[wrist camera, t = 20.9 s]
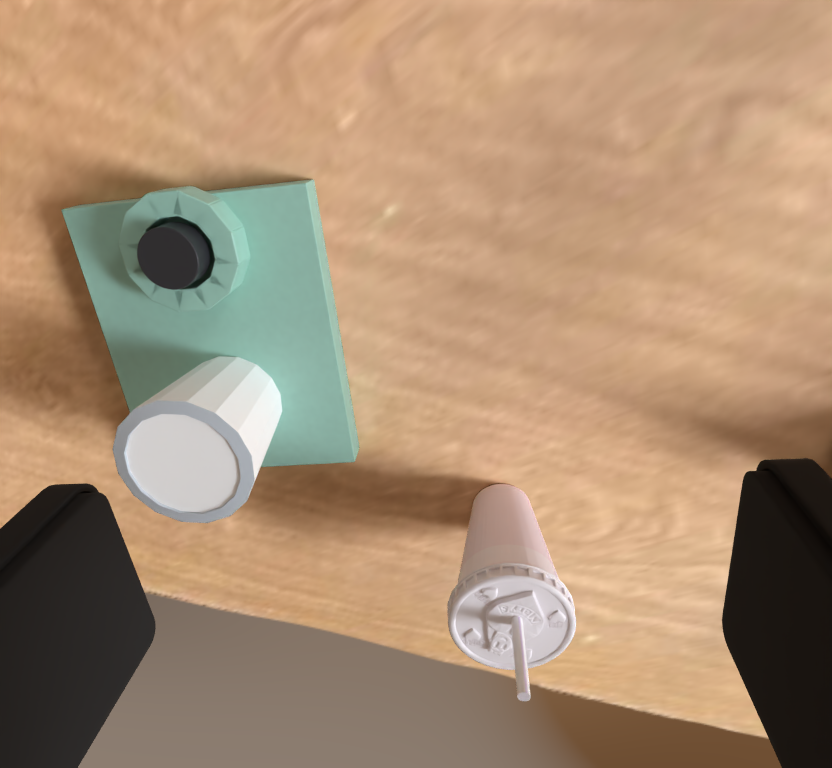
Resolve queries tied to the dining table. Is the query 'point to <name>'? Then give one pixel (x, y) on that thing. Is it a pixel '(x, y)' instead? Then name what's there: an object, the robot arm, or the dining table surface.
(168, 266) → the button
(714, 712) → the dining table surface
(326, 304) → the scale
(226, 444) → the white tapered cup
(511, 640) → the smoothie
